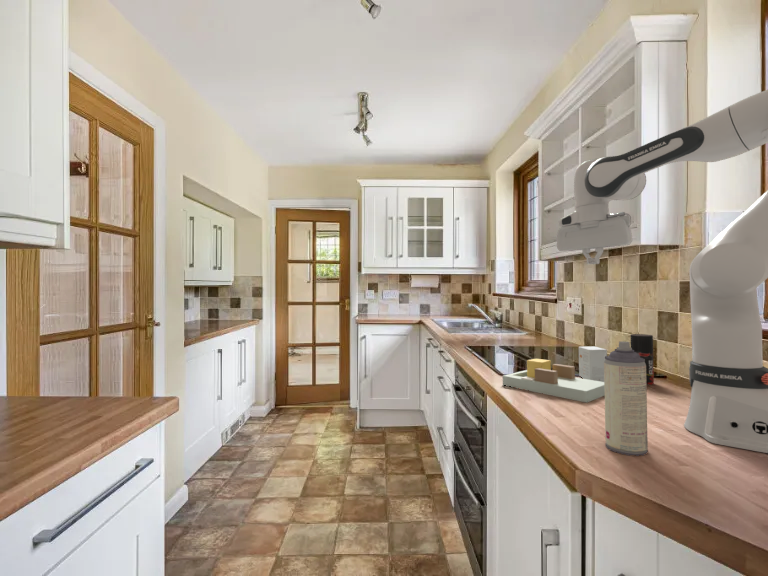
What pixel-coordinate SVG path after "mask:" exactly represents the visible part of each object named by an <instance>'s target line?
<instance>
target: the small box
mask: <svg viewBox="0 0 768 576" xmlns="http://www.w3.org/2000/svg"><path fill="white" fill-rule="evenodd" d="M606 356H608V350H607V349H606V348H603V347H598V346H594V345H593V346H578V372H579V373H578V375H579V376H581V377H582V378H583V379H588V380H594V381H601V382H604V361H605V357H606ZM579 376H578V377H579Z"/></svg>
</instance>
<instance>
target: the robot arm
mask: <svg viewBox="0 0 768 576" xmlns="http://www.w3.org/2000/svg"><path fill="white" fill-rule="evenodd" d="M765 144H768V89H767V90H763V91H760V92H757V93H755V94H752V95H750V96H748V97H746V98H743V99H742V100H739V101H737V102H735V103H733V104H731V105H729V106H726V107H724V108H723V109H721V110H718V111H717V112H714V113H713V114H711V115H708V116H707V117H705V118H703V119H700V120H699V121H697V122H694V123H692V124H690V125H687V126H686V127H683V128H681V129H678V130H676V131H674V132H672V133H669V134H666V135H664V136H662V137H659V138H657V139H655V140H652V141H650V142H648V143H646V144H644V145H643V144H642V145H641V146H639V147H637V148H634V149H632V150H629V151H627V152H626V153H622V154H620V155H612V156H604V157H601V158H593V159H589V160H585V161H584V162H582V163H579V165H578V166H577V167H576V169H575V172H574V179H573V180H574V181H573V194H574V198H575V205H574V211H573V212H571V213H569V214H568V215H566V216H564V217H562V218H559V219H558V226H559V229H558V230H557V234H556V249H557V250H558V251H559V252H574V251H582V254H583V256H584V257H585V259H586V265H599V264H600V261H601V260H600V259H601V257H602V255H603V253H604V248H612V247H613V248H614V247H620V246H622V247H623V246H624V247H625V246H630V244H631V243H632V242H633V235H632V229H631V224H632V217H631V214H629V213H626V212H625V211H622V212H617V213H609V202H611V201H629V200H630V201H631V200H634V199H635V198H636V197H639V196H640V195H641V194H642V192H643V191H644V190H645V187H646V184H647V176H646V173H648V172H650V171H653V170H656V169H658V168H661V167H663V166H665V165H669V164H673V163H679V162H702V163H716V162H720V161H724V160H727V159H731V158H734V157H737V156H740V155H742V154H745V153H747V152H750V151H752V150H754V149H756V148H759V147H761V146H763V145H765ZM593 249H594V250H595V252H596V254H595V256H594V257H591V250H593ZM688 272H689V296H690V298H689V299H690V314H691V315H690V317H691V318H690V319H691V352H692V353H691V356H692V357H691V359H692V360H691V361H689V367H688V370H689V371H688V373H689V375H688V377H689V385H690V388H691V392H690V393H691V394H690V401H689V402H690V403H689V407H688V411H687V415H686V419H685V421H684V423H683V426H684V428H685V429H686V430H687V431H690V432H691V433H693V434H696V435H697V436H701V437H702V438H703V439H705V440H706V441H707V442H709V443H712V444H716V445H721V446H727V447H732V448H737V449H743V450H749V451H754V452H759V453H764V454H768V368H767V367H765V366H764V365H763V363H764V361H763V325H762V321H761V315H760V308H759V300H758V293H757V292H758V291H757V288H758V287H759V286H760V285H762V284H763V283H764V282H765V281H766V280H767V279H768V189H767V190H766V191H764V192H763V194H762V195H760V197H758V199H756V200H755V201H754V202H752V204H751V205H750V206H748V208H747V209H745V210H744V211H743V212H742V213H741V214H739V216H738V217H737V218H736V219H734V221H732V222H731V223H730V224H729V225H728V226H726V228H725V229H723V230H722V231H721V232H720V233H719V234H718V235H717V236H716V237H715V238H714V239H712V241H711V242H709V243H708V244H707V245H706V246H704V248H703V249H701V250H700V252H699V253H697V254H696V256H694V258H693V259H692V261H691V262H690V265H689V271H688Z"/></svg>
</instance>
